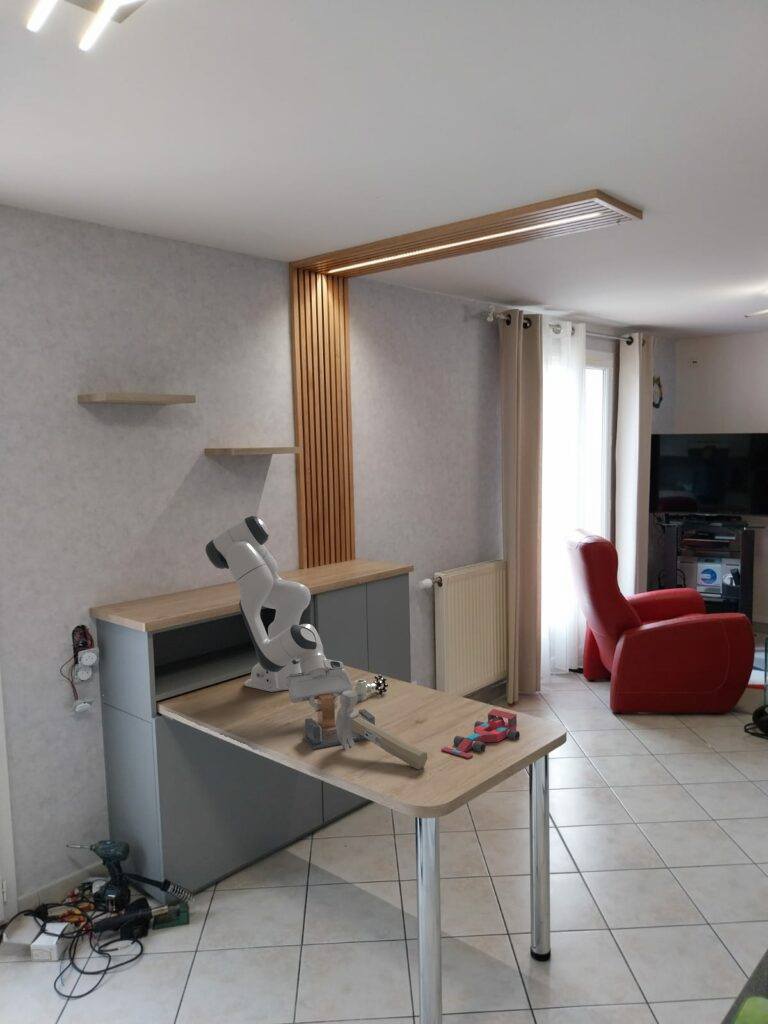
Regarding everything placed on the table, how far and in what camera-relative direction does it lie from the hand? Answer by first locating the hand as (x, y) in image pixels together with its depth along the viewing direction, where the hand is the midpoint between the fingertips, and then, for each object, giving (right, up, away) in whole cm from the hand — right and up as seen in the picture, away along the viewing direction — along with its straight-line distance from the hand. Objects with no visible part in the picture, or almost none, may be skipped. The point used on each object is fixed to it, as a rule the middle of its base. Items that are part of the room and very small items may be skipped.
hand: (326, 709), depth 238 cm
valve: (+13, -3, +27) cm, 30 cm away
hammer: (+17, -7, -26) cm, 32 cm away
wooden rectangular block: (0, -5, +1) cm, 5 cm away
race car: (+46, -5, -18) cm, 49 cm away
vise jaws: (+5, -6, -11) cm, 13 cm away
